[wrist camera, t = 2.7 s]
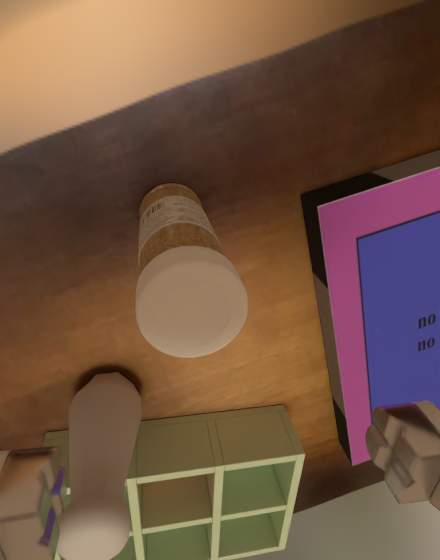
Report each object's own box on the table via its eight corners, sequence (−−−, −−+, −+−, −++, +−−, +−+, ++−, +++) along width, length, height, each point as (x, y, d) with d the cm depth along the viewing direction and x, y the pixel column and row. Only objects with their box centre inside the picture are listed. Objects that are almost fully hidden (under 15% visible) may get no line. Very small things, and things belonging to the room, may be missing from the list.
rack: (71, 529, 40) (61, 592, 35) (45, 432, 33) (28, 493, 28) (268, 496, 44) (284, 549, 39) (283, 404, 37) (305, 454, 32)
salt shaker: (88, 420, 34) (60, 590, 22) (63, 375, 31) (16, 543, 20) (150, 402, 34) (154, 560, 23) (131, 356, 31) (124, 510, 20)
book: (352, 466, 39) (317, 206, 25) (339, 442, 42) (300, 194, 27) (532, 402, 40) (604, 112, 25) (509, 383, 43) (561, 110, 28)
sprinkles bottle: (164, 254, 27) (178, 379, 16) (125, 204, 25) (109, 308, 14) (215, 220, 27) (270, 324, 15) (180, 166, 25) (212, 240, 13)
